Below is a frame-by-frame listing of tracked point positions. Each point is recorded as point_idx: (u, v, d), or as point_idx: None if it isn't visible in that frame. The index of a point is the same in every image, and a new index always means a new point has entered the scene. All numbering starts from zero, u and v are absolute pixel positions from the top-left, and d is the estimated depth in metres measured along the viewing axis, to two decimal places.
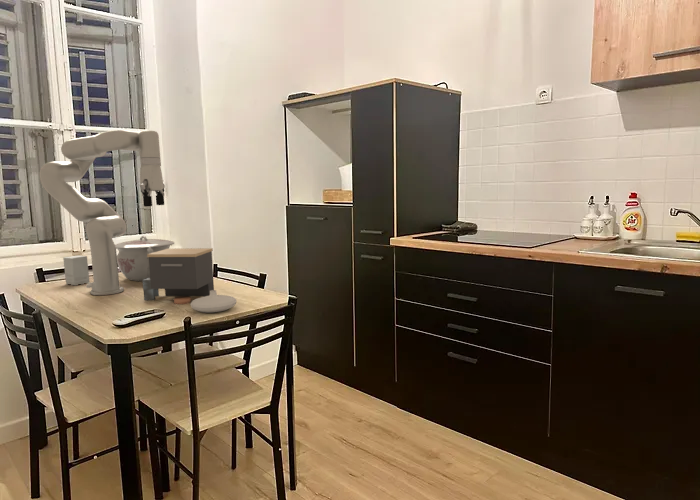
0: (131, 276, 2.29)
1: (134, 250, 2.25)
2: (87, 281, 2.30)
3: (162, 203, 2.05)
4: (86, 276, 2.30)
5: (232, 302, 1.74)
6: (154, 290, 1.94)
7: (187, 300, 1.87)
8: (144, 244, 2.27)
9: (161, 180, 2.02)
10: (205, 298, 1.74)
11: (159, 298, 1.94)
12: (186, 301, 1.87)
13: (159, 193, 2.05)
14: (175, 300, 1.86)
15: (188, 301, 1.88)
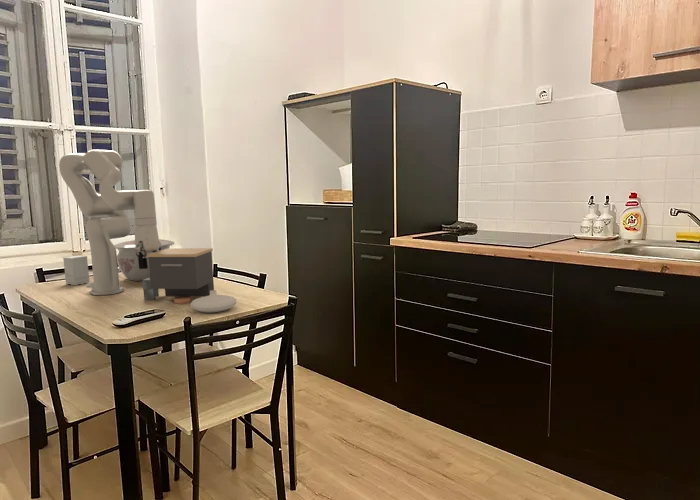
0: (131, 276, 2.29)
1: (134, 250, 2.25)
2: (87, 281, 2.30)
3: None
4: (86, 276, 2.30)
5: (232, 302, 1.74)
6: (154, 290, 1.94)
7: (187, 300, 1.87)
8: None
9: (157, 239, 1.95)
10: (205, 298, 1.74)
11: (159, 298, 1.94)
12: (186, 301, 1.87)
13: None
14: (175, 300, 1.86)
15: (188, 301, 1.88)
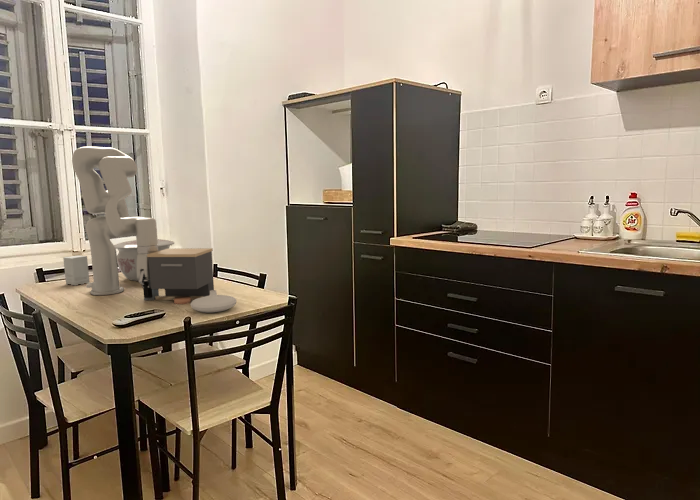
0: (131, 276, 2.29)
1: (134, 250, 2.25)
2: (87, 281, 2.30)
3: None
4: (86, 276, 2.30)
5: (232, 302, 1.74)
6: (154, 290, 1.94)
7: (187, 300, 1.87)
8: None
9: None
10: (205, 298, 1.74)
11: (159, 298, 1.94)
12: (186, 301, 1.87)
13: None
14: (175, 300, 1.86)
15: (188, 301, 1.88)
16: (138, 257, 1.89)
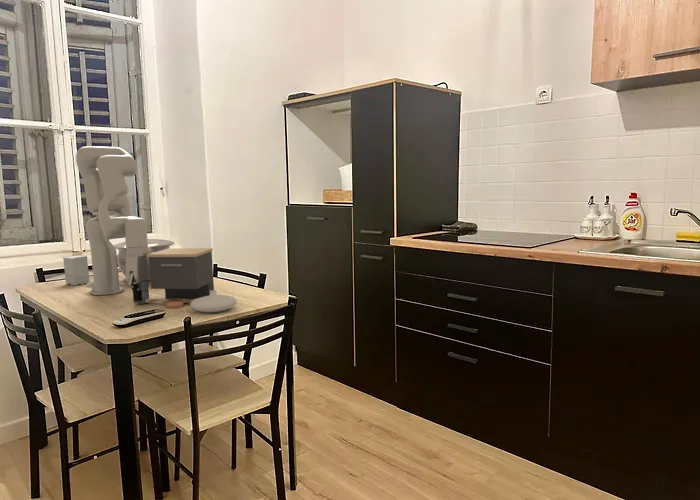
0: None
1: None
2: (87, 281, 2.30)
3: None
4: (86, 276, 2.30)
5: (232, 302, 1.74)
6: (144, 293, 1.87)
7: (180, 304, 1.81)
8: None
9: None
10: (205, 298, 1.74)
11: (149, 301, 1.87)
12: (179, 305, 1.81)
13: None
14: (167, 304, 1.80)
15: (181, 305, 1.81)
16: (127, 259, 1.82)
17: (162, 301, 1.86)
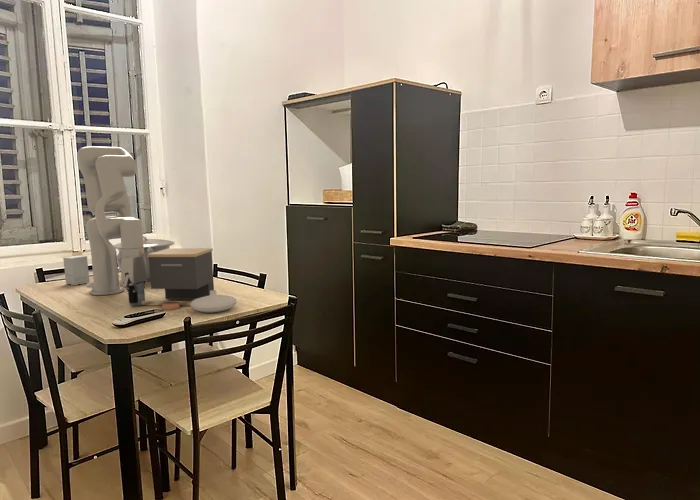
0: None
1: None
2: (87, 281, 2.30)
3: None
4: (86, 276, 2.30)
5: (232, 302, 1.74)
6: (140, 295, 1.84)
7: (176, 306, 1.78)
8: (144, 244, 2.27)
9: (145, 270, 1.87)
10: (205, 298, 1.74)
11: (145, 304, 1.84)
12: (175, 307, 1.78)
13: None
14: (163, 306, 1.77)
15: (177, 307, 1.79)
16: (123, 260, 1.79)
17: (158, 303, 1.84)
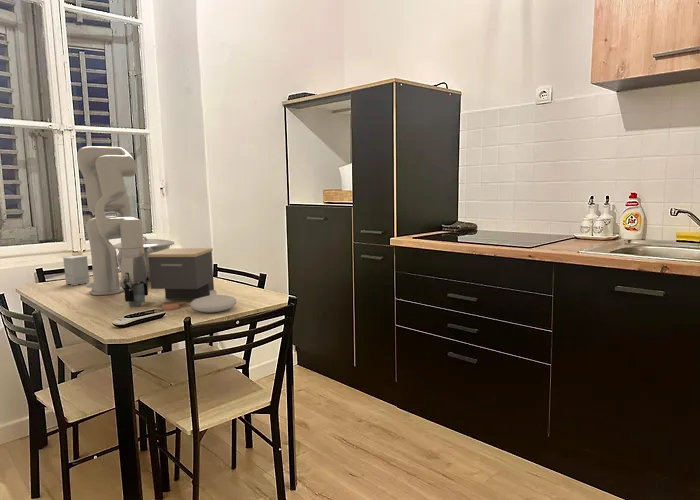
0: None
1: None
2: (87, 281, 2.30)
3: (146, 294, 1.89)
4: (86, 276, 2.30)
5: (232, 302, 1.74)
6: (140, 296, 1.84)
7: (176, 306, 1.78)
8: (144, 244, 2.27)
9: (145, 270, 1.87)
10: (205, 298, 1.74)
11: (145, 305, 1.84)
12: (175, 307, 1.78)
13: None
14: (163, 306, 1.77)
15: (177, 307, 1.79)
16: (123, 260, 1.79)
17: (158, 304, 1.84)
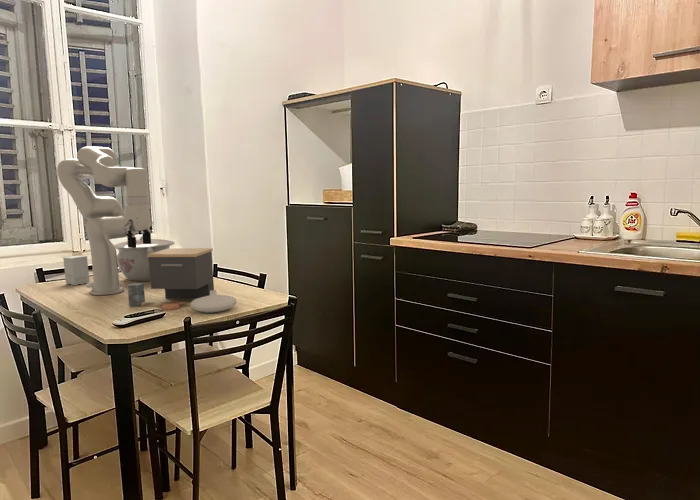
0: (131, 276, 2.29)
1: (134, 250, 2.25)
2: (87, 281, 2.30)
3: (149, 242, 1.96)
4: (86, 276, 2.30)
5: (232, 302, 1.74)
6: (140, 296, 1.84)
7: (176, 306, 1.78)
8: (144, 244, 2.27)
9: (148, 219, 1.93)
10: (205, 298, 1.74)
11: (145, 305, 1.84)
12: (175, 307, 1.78)
13: (146, 231, 1.96)
14: (163, 306, 1.77)
15: (177, 307, 1.79)
16: (127, 207, 1.85)
17: (158, 304, 1.84)
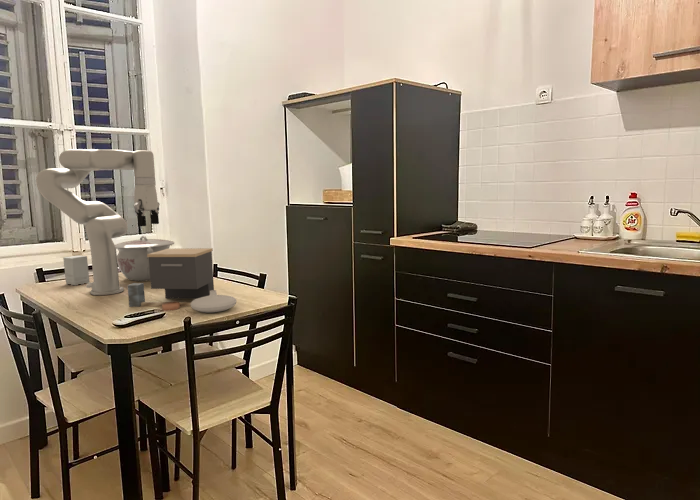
0: (131, 276, 2.29)
1: (134, 250, 2.25)
2: (87, 281, 2.30)
3: (157, 222, 2.05)
4: (86, 276, 2.30)
5: (232, 302, 1.74)
6: (140, 296, 1.84)
7: (176, 306, 1.78)
8: (144, 244, 2.27)
9: (156, 199, 2.02)
10: (205, 298, 1.74)
11: (145, 305, 1.84)
12: (174, 307, 1.78)
13: (154, 212, 2.05)
14: (163, 306, 1.77)
15: (177, 307, 1.78)
16: (136, 188, 1.95)
17: (158, 304, 1.84)
